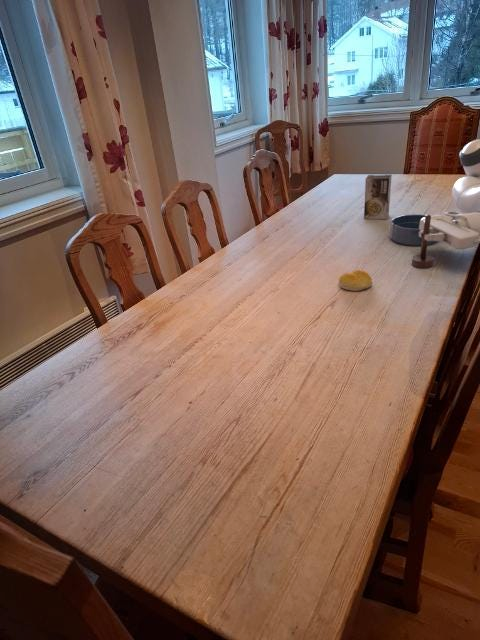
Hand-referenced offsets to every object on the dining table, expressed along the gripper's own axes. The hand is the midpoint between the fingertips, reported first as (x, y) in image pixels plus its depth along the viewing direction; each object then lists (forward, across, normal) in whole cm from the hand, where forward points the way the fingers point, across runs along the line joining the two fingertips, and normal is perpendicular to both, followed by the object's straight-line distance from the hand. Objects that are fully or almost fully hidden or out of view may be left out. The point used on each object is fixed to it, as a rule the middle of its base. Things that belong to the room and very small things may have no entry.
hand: (422, 236), depth 126 cm
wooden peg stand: (-1, 0, -9) cm, 9 cm away
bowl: (-11, +21, -9) cm, 25 cm away
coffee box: (-11, +49, -9) cm, 51 cm away
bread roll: (+23, -6, -9) cm, 26 cm away
